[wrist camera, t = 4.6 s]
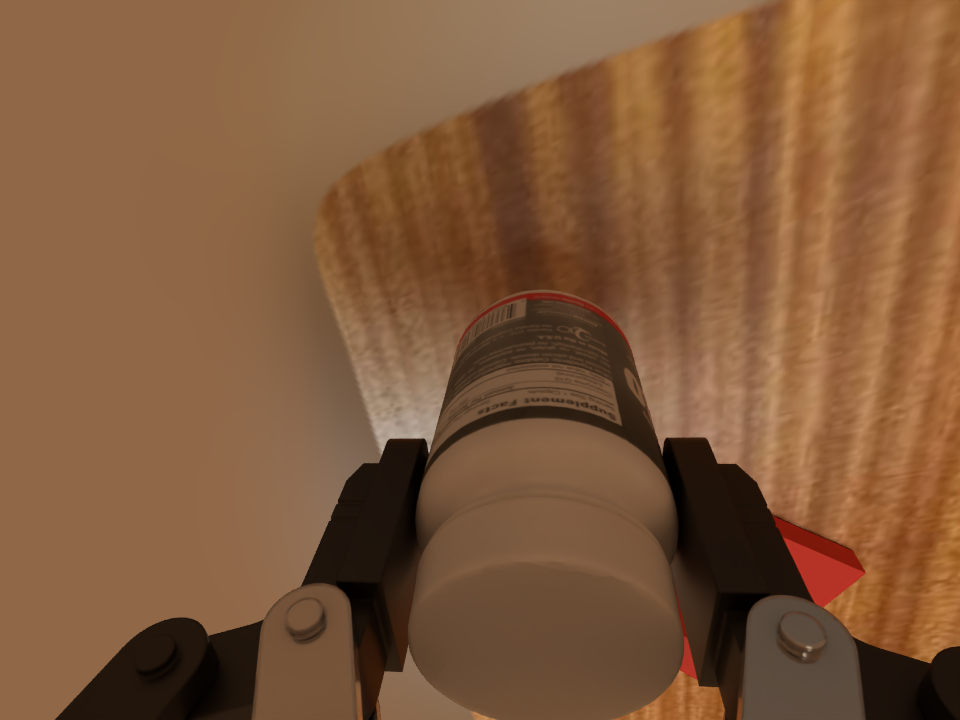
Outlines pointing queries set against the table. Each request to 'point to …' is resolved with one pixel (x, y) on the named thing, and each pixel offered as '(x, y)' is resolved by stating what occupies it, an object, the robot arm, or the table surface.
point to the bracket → (806, 572)
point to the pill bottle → (546, 523)
